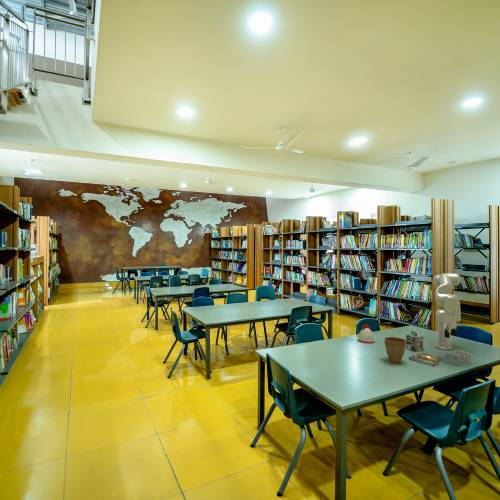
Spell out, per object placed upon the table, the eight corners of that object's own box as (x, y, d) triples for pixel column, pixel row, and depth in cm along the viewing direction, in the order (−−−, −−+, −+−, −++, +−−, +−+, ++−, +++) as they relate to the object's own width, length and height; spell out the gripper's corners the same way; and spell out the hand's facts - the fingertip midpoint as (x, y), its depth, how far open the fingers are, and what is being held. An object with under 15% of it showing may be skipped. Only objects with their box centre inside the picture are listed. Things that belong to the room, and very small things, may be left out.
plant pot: (398, 366, 221) (398, 343, 221) (379, 360, 233) (379, 338, 233) (410, 362, 229) (410, 340, 229) (392, 356, 241) (392, 335, 241)
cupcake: (354, 339, 285) (354, 323, 284) (367, 338, 289) (367, 322, 289) (364, 344, 271) (364, 326, 271) (378, 342, 275) (378, 325, 275)
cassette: (472, 364, 224) (473, 354, 224) (471, 365, 223) (471, 354, 223) (456, 359, 235) (456, 348, 235) (455, 359, 234) (455, 349, 234)
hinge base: (445, 360, 232) (445, 356, 232) (434, 366, 221) (434, 362, 221) (421, 353, 246) (421, 350, 246) (408, 359, 235) (408, 355, 235)
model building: (423, 350, 254) (423, 332, 254) (415, 351, 251) (415, 333, 251) (414, 347, 263) (414, 329, 263) (405, 348, 260) (405, 330, 260)
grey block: (445, 360, 232) (445, 351, 232) (461, 364, 224) (461, 355, 224) (444, 361, 230) (444, 352, 230) (459, 365, 222) (459, 355, 222)
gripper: (450, 310, 235) (450, 333, 235) (438, 313, 225) (438, 337, 225) (461, 312, 229) (461, 335, 229) (450, 315, 219) (450, 339, 219)
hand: (450, 336), depth 227 cm, fingers open, 9 cm apart
